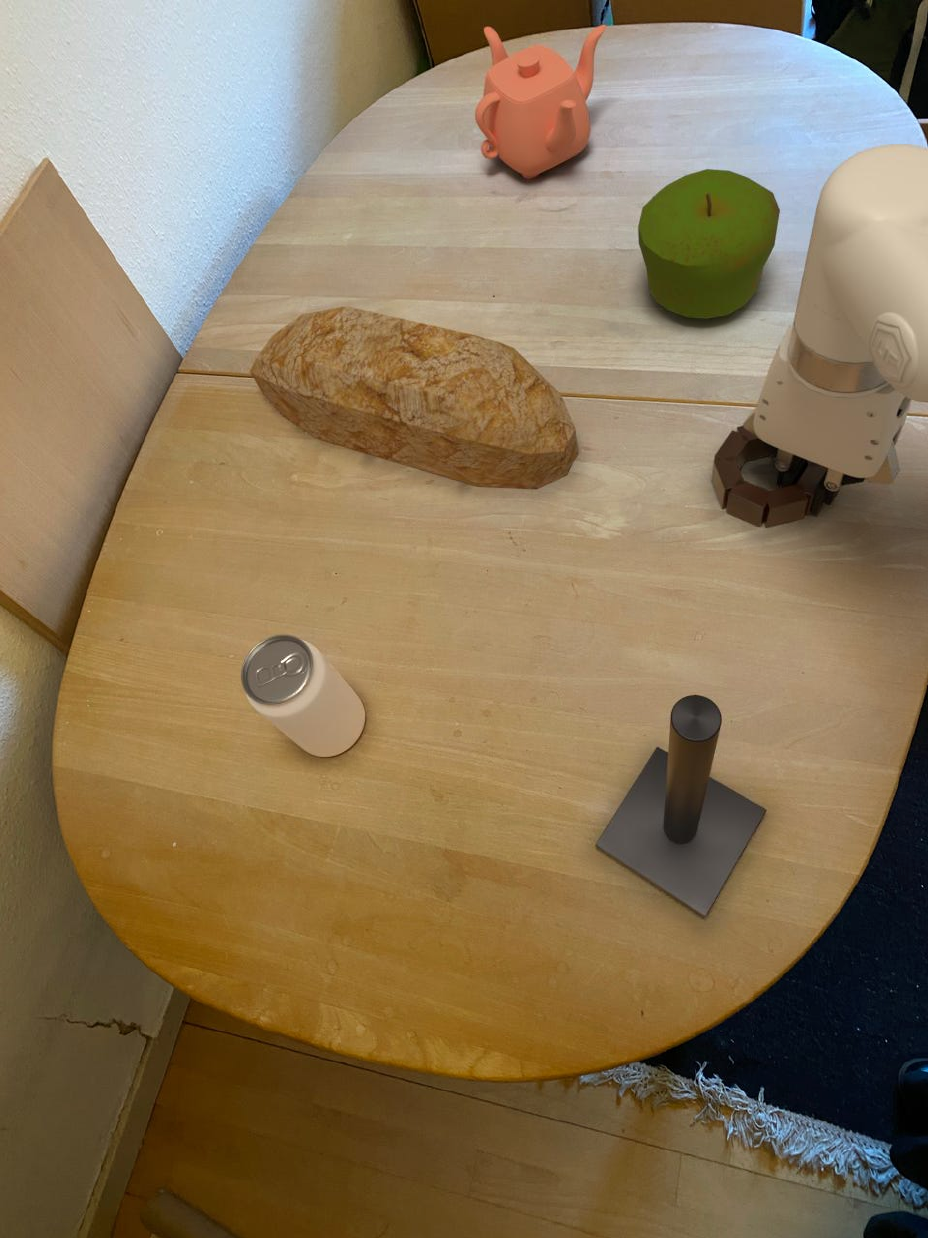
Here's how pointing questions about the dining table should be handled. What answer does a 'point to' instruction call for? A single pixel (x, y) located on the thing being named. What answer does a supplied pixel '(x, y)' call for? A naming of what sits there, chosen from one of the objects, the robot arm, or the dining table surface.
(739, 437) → the ring
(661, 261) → the apple
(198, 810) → the dining table surface
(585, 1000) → the dining table surface
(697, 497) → the dining table surface
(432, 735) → the dining table surface
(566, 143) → the teapot
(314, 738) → the can
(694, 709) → the dark grey peg stand
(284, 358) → the bread
